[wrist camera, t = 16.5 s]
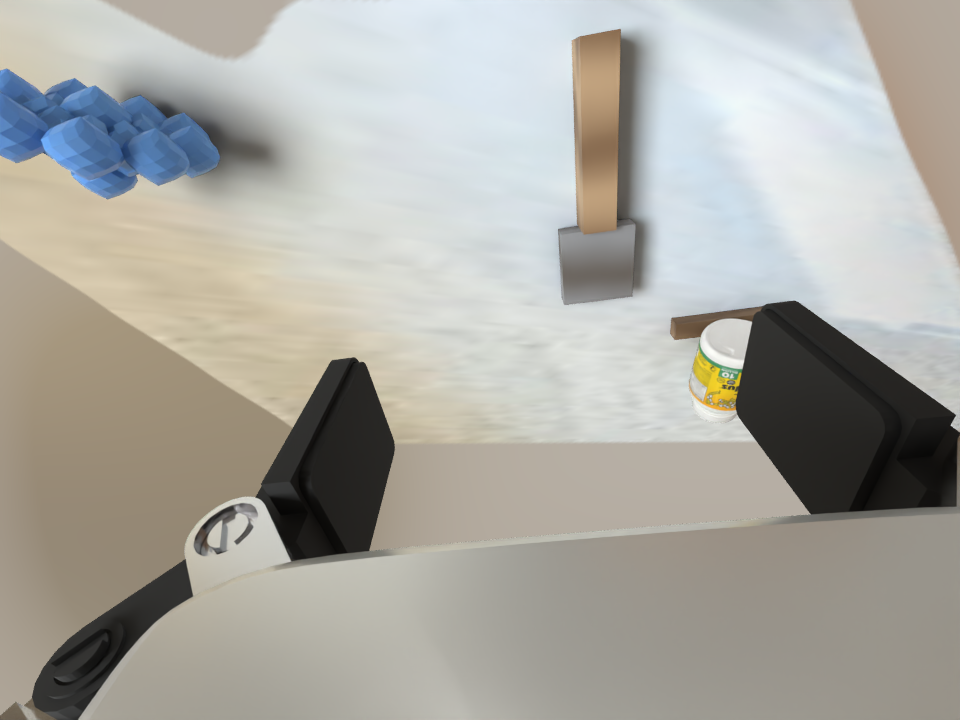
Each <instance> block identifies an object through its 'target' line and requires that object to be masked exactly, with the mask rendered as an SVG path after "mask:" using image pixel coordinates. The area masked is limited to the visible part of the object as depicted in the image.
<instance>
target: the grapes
mask: <svg viewBox="0 0 960 720" xmlns="http://www.w3.org/2000/svg"><path fill="white" fill-rule="evenodd" d="M41 153H44V154H46V155H48V156H50V157H51V158H52V159H54V160H55V161H56V162H57V163H59V164H60V165H61V166H62V167H64V168H66V169H68V170H69V171H71V174H72V176H73V177H74V179H76V180H77V181H78V182H79V183H80V184H81V185H83V186H84V187H85V188H87V189H88V190H90V191H92V192H94V193H96V194H98V195H100V196H102V197H104V198H106V199H110V198H113V197H116V196H119V195H121V194H124V193H125V192H127V191H129V190H131V189H132V188H134V186H135V184H136V183H137V181H138V180H137V177H136V175H137V174H140V175H142V176H143V177H145V178H146V179H148V180H150V181H151V182H153V183H155V184H156V185H158V186H159V185H162V184H165V183H168V182H170V181H173V180H175V179H177V178H179V177H181V176H182V175H184V174H187V175H188V176H189V177H191V178H193V177H196V176H199V175H202V174H204V173H207V172H209V171H210V170H212V169H214V168H215V167H217V165H218V163H219V161H220V155H219V152H218V150H217V148H216V147H215V146H214V145H213V144H212V142H211V141H210V138H209V136H208V134H207V133H206V132H205V131H204V130H203V129H202V128H201V127H200V126H199V125H198V124H197V123H196V122H195V121H194V120H192V119H191V118H190V117H189V116H187V115H186V114H185V113H181V114H178V115H175V116H172V117H170V118H167V117H166V116H165V115H164V114H163V113H162V112H161V111H160V110H159V109H157V108H156V107H155V106H154V105H153V104H151V103H150V102H149V101H148V100H146V99H145V98H144V97H142V96H141V95H140V96H136V97H133V98H130V99H128V100H126V101H124V102H122V103H120V104H119V103H118V102H117V101H115V100H114V99H113V98H112V97H110V96H109V95H108V94H106V93H105V92H103V91H102V90H101V89H99V88H98V87H97V86H92V87H89V88H88V87H86V86H85V85H83V84H82V83H81V82H79V81H78V80H76V79H75V78H74V79H71V80H68V81H64V82H62V83H59V84H57V85H55V86H52V87H51V88H49V89H48V90H47V91H46V92H45V93H44V95H43V94H42V93H41V92H40V91H39V90H38V89H37V88H36V87H34V86H33V85H31V84H29V83H28V82H26V81H25V80H23V79H22V78H20V77H19V76H17V75H16V74H14V73H13V72H11V71H10V70H8V69H4V70H1V71H0V156H2V157H5V158H7V159H9V160H11V161H13V162H15V163H19V162H22V161H25V160H28V159H31V158H33V157H35V156H37V155H39V154H41Z"/></svg>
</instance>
